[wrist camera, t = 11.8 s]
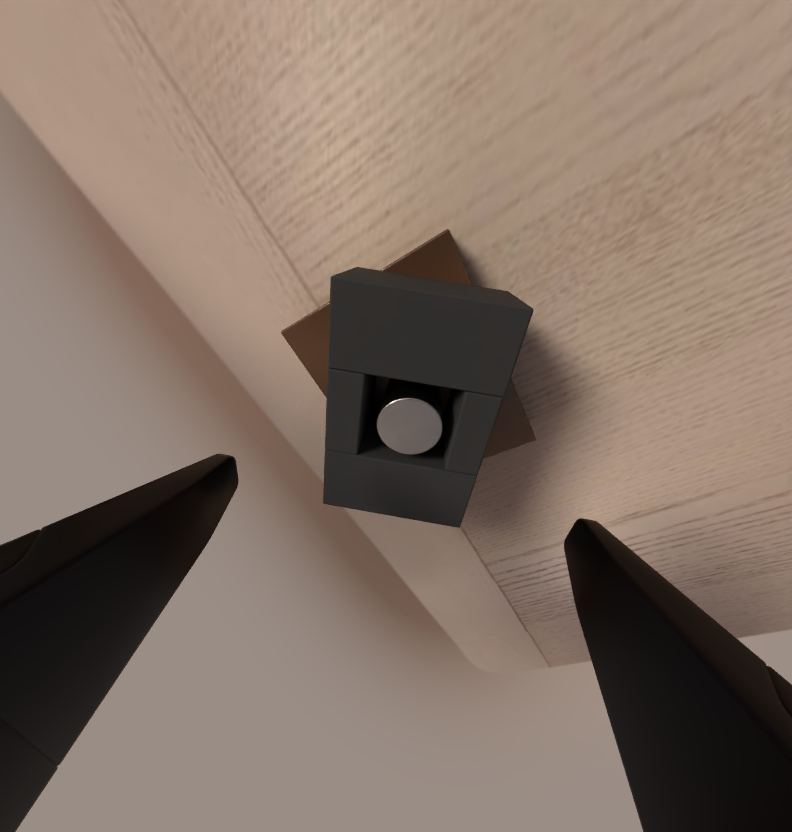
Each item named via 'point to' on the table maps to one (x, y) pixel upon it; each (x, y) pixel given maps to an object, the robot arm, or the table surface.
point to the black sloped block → (423, 363)
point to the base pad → (424, 267)
